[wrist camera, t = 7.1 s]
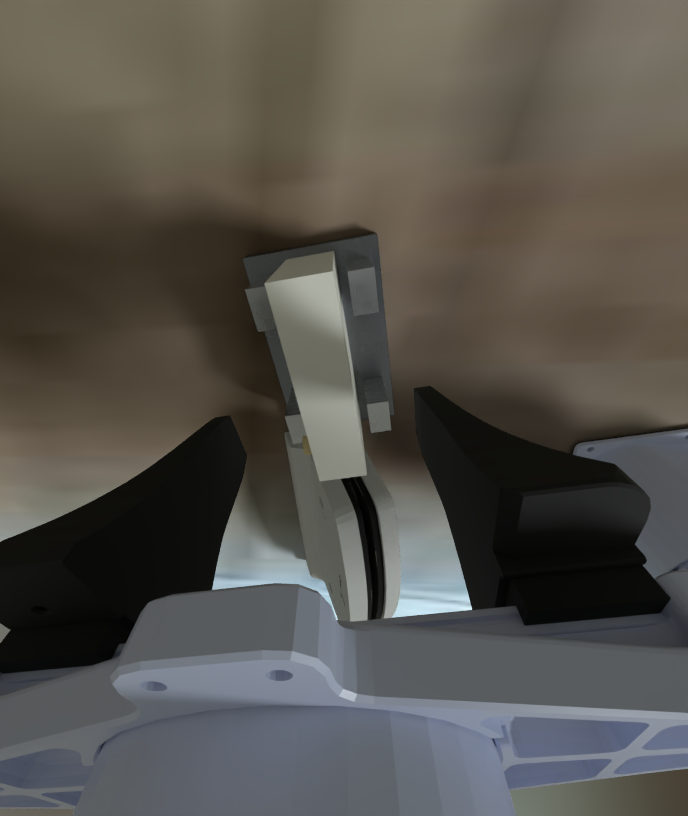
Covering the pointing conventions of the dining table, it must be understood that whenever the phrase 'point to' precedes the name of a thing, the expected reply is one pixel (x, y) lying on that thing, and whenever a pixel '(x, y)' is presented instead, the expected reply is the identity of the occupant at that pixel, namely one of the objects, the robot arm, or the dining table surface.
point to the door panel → (319, 362)
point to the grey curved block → (348, 537)
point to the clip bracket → (361, 317)
